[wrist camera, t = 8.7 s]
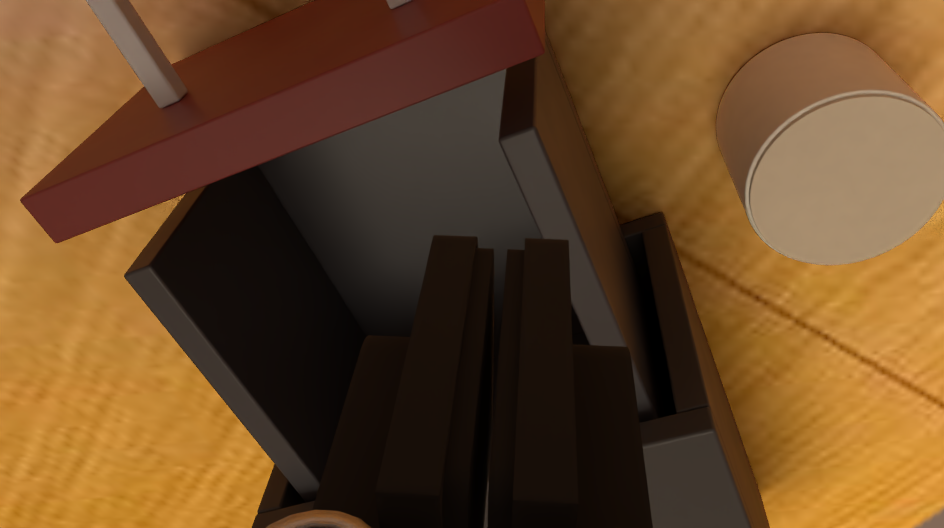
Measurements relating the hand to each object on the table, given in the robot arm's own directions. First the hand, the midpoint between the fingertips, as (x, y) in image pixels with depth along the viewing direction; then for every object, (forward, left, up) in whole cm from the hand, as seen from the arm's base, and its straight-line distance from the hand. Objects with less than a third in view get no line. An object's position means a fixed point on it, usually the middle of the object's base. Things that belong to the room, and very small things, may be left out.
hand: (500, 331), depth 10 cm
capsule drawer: (+2, -5, -14) cm, 14 cm away
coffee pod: (+6, +6, -15) cm, 17 cm away
